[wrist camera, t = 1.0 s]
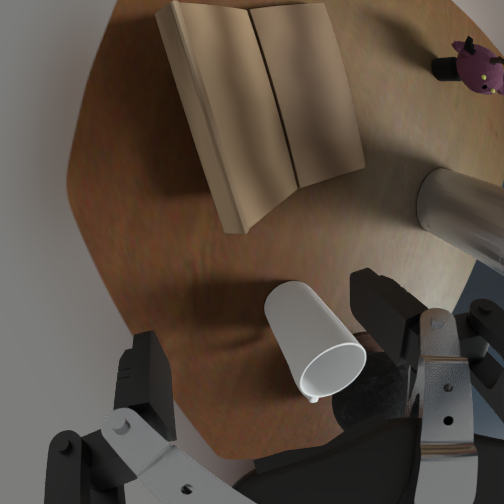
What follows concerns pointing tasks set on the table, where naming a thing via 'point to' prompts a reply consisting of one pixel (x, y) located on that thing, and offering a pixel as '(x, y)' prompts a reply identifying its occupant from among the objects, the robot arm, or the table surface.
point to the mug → (313, 341)
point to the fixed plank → (309, 90)
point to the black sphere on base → (372, 387)
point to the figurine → (472, 68)
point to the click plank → (228, 109)
